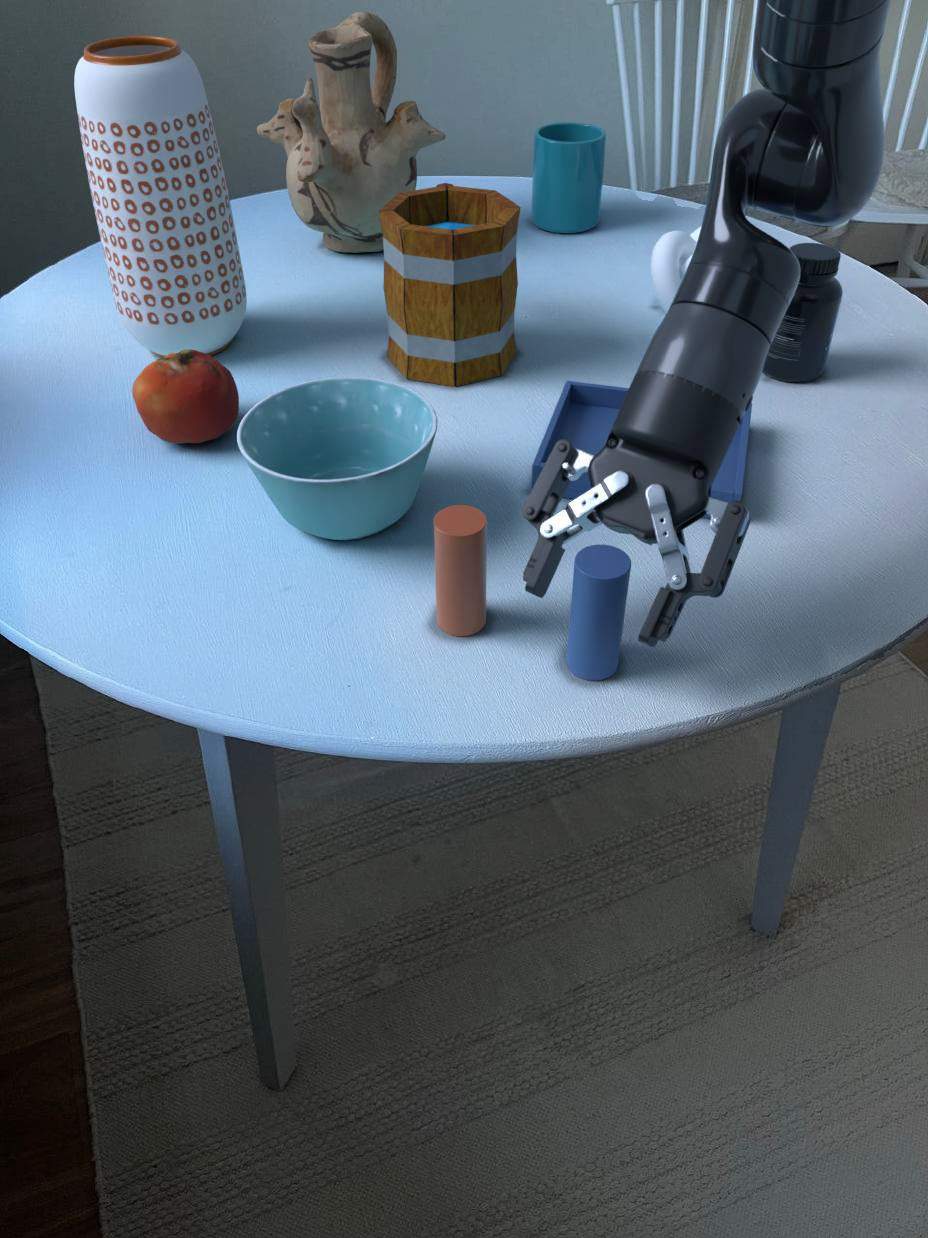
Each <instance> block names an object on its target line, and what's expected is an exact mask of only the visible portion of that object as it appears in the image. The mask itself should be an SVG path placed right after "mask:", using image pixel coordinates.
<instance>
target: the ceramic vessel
mask: <svg viewBox="0 0 928 1238" xmlns="http://www.w3.org/2000/svg"><path fill="white" fill-rule="evenodd" d="M308 47H309V50H310V54H311V57H312V60H313V64H314V69H315V74H316V80H317V86H318V94H319V96H318V97H319V103H318V100H317V97H316V92H315V84H314V80H313V78H312V77H308V78H307V80H306V82H305V86H304V90H303V93H302V95H301V96H299V97H298V98H296V99H295V98H294V97H293V98H292V97H290V98H289V97H288V98H287V99H285V100H282V101H281V102H280V103H279V106H278V110H277V112H276V114H275V115H274V116H273V117H272V118H271V119H270V120H269V121H267V122H264V123H261V124H259V125H257V126H256V132H257V134H258V135H259V136H260V137H262V138H263V139H266V140H268V141H270V142H272V143H273V144H275V145H276V146H277V147H281V148H283V149H284V150H285V154H286V157H287V161H286V167H285V171H286V172H285V179H286V180H285V181H286V189H287V192H288V196H289V199H290V202H291V206H292V208H293V210H294V212H295V214H296V216H297V217H298V218H299V220H300V221H301V223H303V224H304V225H305V227H307V228H309V229H312V230H313V231H316V232H320V233H322V244H323V246H324V247H325V248H326V249H328V250H330V251H333V252H339V253H378V252H382V251H384V247H383V235H382V229H381V223H380V218H379V212H378V211H379V210H380V209H381V208H382V207H383V206H384V205H386V204H387V203H388V202H389V201H390V200H391V199H392V198H394V197H395V196H396V195H397V194H398V193H402V192H408V191H414V190H417V189H416V188H417V183H418V182H417V181H418V163H417V154H418V152H419V151H420V150H421V149H424V148H427V147H429V146H431V145H433V144H437V143H439V142H443V141H445V140H446V136H447V135H446V134H445V132H443V131H441V130H439V129H437V128H436V127H433V126H432V125H431V124H430V123H429V122H428V121H426V119H424V118H423V116H422V114H421V112H420V111H419V108H418V104H417V102H416V101H415V100H406V101H403V102H400V103H398V105H397V106H396V107H395V108H394V110H393V114H392V116H391V117H390V119H389V120H388V121H387V113H388V109H389V107H390V104H391V102H392V99H393V95H394V92H395V86H396V82H397V73H398V49H397V46H396V42H395V39H394V36H393V34H392V32H391V30H390V28H389V26H388V24H386V23H385V21H384V20H383V19H382V18H381V17H380V16H378V15H377V14H374V13H372V12H370V11H355V12H353V13H352V14H351V15H350V16H348V17H347V18H346V19H344V20H343V21H342V22H341V23H339V24H338V25H336V27H331V28H323V29H320V30H319V31H317V32H316V33H314V34H313V35H312V36H311V37H310V38H309V41H308ZM373 47H374V50H375V56H376V57H375V58H376V59H375V60H376V61H375V72H374V80H373V84H372V87H371V56H372V48H373Z"/></svg>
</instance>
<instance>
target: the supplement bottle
mask: <svg viewBox="0 0 928 1238" xmlns="http://www.w3.org/2000/svg"><path fill="white" fill-rule="evenodd" d="M789 249H790V250H791V251H792V252H793V253H794V254H795V256H796V257H797V259H798V261H799V263H800V268H801V272H800V279H799V283H798V286H797V289H796V291H795V293H794V296H793V298H792V300H791V303H790V305H789V307H788V309H787V311H786V313H785V316H784V318H783V320H782V322H781V324H780V327H779V329H778V331H777V333H776V335H775V338H774V340H773V342H772V344H771V347H770V349H769V352H768V354H767V357H766V360H765V363H764V367H763V370H762V374H764V375H766V376H767V377H770V378H772V379H775V380H778V381H783V382H787V383H788V382H790V383H804V382H809V381H812V380H814V379H816V378H818V377H820V375H822V374H823V372H824V370H825V367H826V363H827V360H828V355H829V351H830V348H831V344H832V340H833V336H834V331H835V327H836V323H837V320H838V317H839V316H838V315H839V312H840V307H841V304H842V299H843V293H844V291H843V287H842V284H841V283H840V281H839V280H838V279H837V277H836V276H837V275H838V272H839V269H840V268H839V265H840V262H841V257H842V255H841V254H842V253H841V251H840V250H839V249H837V248H835V247H833V246H831V245H827V244H824V243H819V242H801V243H796V244H793V245H791V246H790V247H789Z"/></svg>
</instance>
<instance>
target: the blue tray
mask: <svg viewBox="0 0 928 1238" xmlns="http://www.w3.org/2000/svg"><path fill="white" fill-rule="evenodd" d="M628 390H629V387H622V386H615V385H606V384H598V383H590V382H581V381H573V380H566V381H565V384H564V386H563V389H562V391H561V393H560V396H559V398H558V401H557V403H556V405H555V408H554V411H553V413H552V415H551V418H550V420H549V422H548V426H547V427H546V431H545V433H544V435H543V438H542V441H541V443H540V446H539V447H538V450H537V452H536V455H535V457H534V460H533V463H532V464H531V465H532V466H531V486H530V487H531V488H530V491H531V490H532V488H533V486H534V484H535V483H536V481H537V479H538V477H539V475H540V473H541V471H542V469H543V467H544V465H545V463H546V461H547V459H548V457H549V455H550V453H551V451H552V449H553V447H554V445H555V444H556V442H557V441H559V440H561V439H566V440H568V441H569V442H570V443H571V444H572V445H573V446H574V447H575V448H577V449H579V450H582V451H584V452H586V453H588V454H591V455H593V456H595V455H596V454H597V453H598V452H599V451H600V450H601V449H602V448H603V447H604V446H605V444H606V442H607V439H608V436H609V433H610V430H611V428H612V425H613V423H614V421H615V419H616V417H617V414H618V412H619V410H620V408H621V405H622V403H623V401H624V399H625V396H626V394H627V392H628ZM752 409H753V403H752V402H751V404H750V407H749V409H748V411H747V412H746V413H745V414H744V416H743V418H742V420H741V423H740V425H739V427H738V429H737V431H736V434H735V436H734V438H733V440H732V442H731V445H730V447H729V449H728V451H727V453H726V456H725V458H724V460H723V462H722V465H721V467H720V469H719V471H718V473H717V476H716V478H715V480H714V482H713V484H712V487H711V497H712V498H715V499H719V500H722V501H726V502H729V503H730V502H731V501H735V500H737V501H740V502H742V497H743V489H744V481H745V473H746V462H747V456H748V455H747V454H748V446H749V445H748V444H749V437H750V427H751V420H752V418H751V417H752ZM590 489H591V485H590V479H589V474H588V471H586V472H584V473H583V474H582V475H581V476H580V477H579V478H578V479H577V480H575V481H570V483H569V485H568V487H567V489H566V491H565V493H564V495H563V497H562V498H566V499H573V500H574V499H576V498H578V497H579V496H581V495H582V494H584V493H586V492H587V491H589V490H590ZM701 519H710V520H711V517H710V515H709V514H706V515H705V516H704V517H702V518H701Z"/></svg>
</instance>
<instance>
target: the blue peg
mask: <svg viewBox="0 0 928 1238" xmlns="http://www.w3.org/2000/svg"><path fill="white" fill-rule="evenodd" d="M573 563H574V564H573V573H572V574H573V575H572V587H571V598H570V610H569V620H568V621H569V623H568V633H567V634H568V635H567V645H566V658H565V663H566V666H567V669H568V670H569V671H570V672H571V674H573V675H574V676H576V677H578V678H580V679H583V680H585V681H593V682H595V681H602V680H606V679H608V678H609V677H610V678H611V676H613V675H614V674H615V673H616V672H617V670H618V667H619V659H620V652H621V644H622V638H623V630H624V621H625V614H626V607H627V601H628V600H627V599H628V593H629V592H628V591H629V586H630V585H629V584H630V577H631V568H632V560H631V558H630V556H629V555H628V554H627V553H626V551H624V550H622V549H621V548H619V547H616V546H615V545H614V546H613V545H609V544H591V545H587V546H585V547H583V548H581V549H580V550H579V551H578V552H577V553H576V554H575V556H574V562H573Z"/></svg>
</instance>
